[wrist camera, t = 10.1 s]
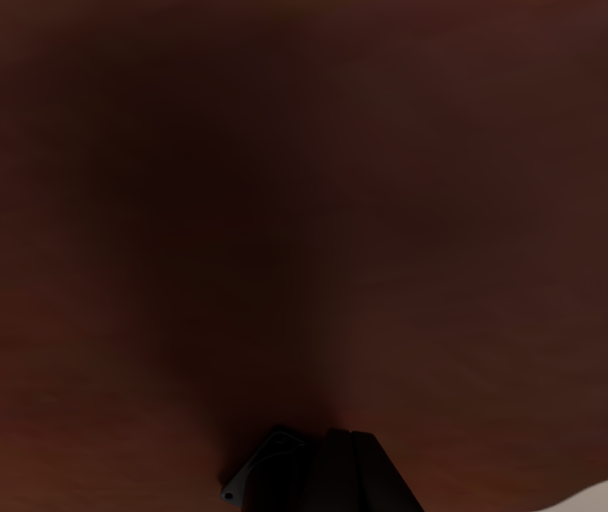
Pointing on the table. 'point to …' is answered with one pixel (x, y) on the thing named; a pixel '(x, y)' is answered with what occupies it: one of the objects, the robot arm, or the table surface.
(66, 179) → the table surface
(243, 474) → the robot arm
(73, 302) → the table surface
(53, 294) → the table surface
